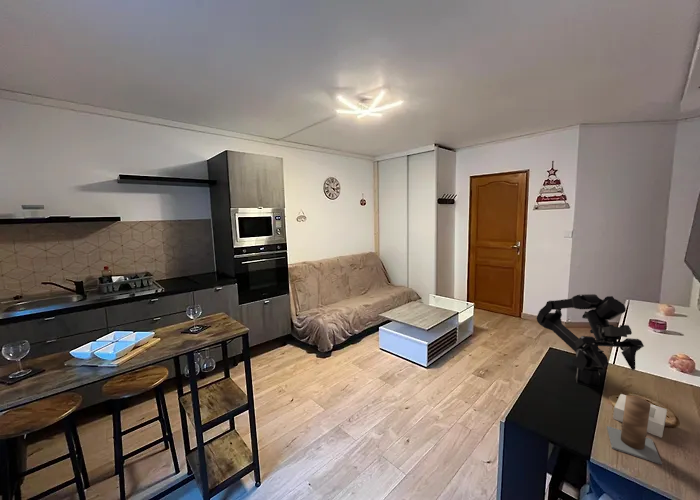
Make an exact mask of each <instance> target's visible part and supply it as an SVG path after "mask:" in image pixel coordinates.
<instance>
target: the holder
mask: <svg viewBox="0 0 700 500" xmlns="http://www.w3.org/2000/svg"><path fill="white" fill-rule="evenodd" d="M626 396H627V395H625V394H623V393H620V395H619V396H618V398H617V401H616V402H615V405H614V407H613V414H612V415H613V416H612V420H615V421H618V422H621V423H623V416H624V408H625V401H626ZM650 405H651V406H650V412H649V419H648V426H647V433H649V434H651V435H653V436H657V437H659V438H661V439H662V438H663V435H664V429H665V425H666V419H667V414H668V413H667V411H668V409H667V408H663V407H661V406H657V405H654V404H653V403H650Z"/></svg>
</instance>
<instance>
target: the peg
mask: <svg viewBox="0 0 700 500" xmlns="http://www.w3.org/2000/svg"><path fill="white" fill-rule="evenodd" d="M650 404H651V403H650V402H649V401H648V400H646V399H645V398H642V397H639V396H636V395H626V401H625V408H624V416H623V422H622V425H621V426H622V427H621V430H622V431H621V441H622V442H623V443H625V444H626V445H628V446H629V447H632V448H634V449H639V450H642V449H644V447H645V440H646V438H647V433H648V432H647V426H648V419H649V412H650V406H651V405H650Z"/></svg>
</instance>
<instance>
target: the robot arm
mask: <svg viewBox="0 0 700 500" xmlns="http://www.w3.org/2000/svg"><path fill="white" fill-rule="evenodd" d="M562 309H564V310H565V309H576V310H588V311H584V313H583V315H582V316H581V318H582V319H587V321H588V323H589V327H590V328H591V329H590V330H589V332H590V334H593V336H588V335H587V336H586V335H581V336H580V337H578V336H577V335H576V334H574V332H572V331H571V330H570V329H568V327H566V326H565V325H564V324H563V323H562V319H561V318H562V316H563V315H562V311H561V310H562ZM552 310H555V311H554V312H552ZM626 311H627V308H626V306H625V304H624V303H622V302H621V301H620V300H619V299H616V298H614V296H613V295H611V296H610V295H609V296H605V297H604V298H603V299H601V298H600V297H599V296H598V295H597V294H595V293H594V294H593V293H592V294H591V293H590V294H589V293H588V294H586V293H585V294H584V293H583V294H576V295H573V296H572V297H571V298H567V299H565V298H564V299H559V300H558V299H556V300H548V301H547V302H546V303H545V305H544V306H543V307H542V308H541V309H540V310H539V311H538V313H537V315H536V321H537V323H538V325H540V326H541V327H543V328H544V329H547V330H550V331H552V332H553V333H555V334H556V335H557V337H559V339H561V341H563V342H564V343H565V344H566V345H567V346H568V347H569V348H571V350H573V351H574V352H575V357H574V358H572V359H571V360H572V365H573V366H574V367H576V375H575V380H576V384H579V385H583V386H586V387H589V388H590V387H591V388H593V389H594V388H595V389H599V385H600V382H601V380H600V379H601V374H600V372H599V371H604V369H605V368H606V367H607V365H608V363H609V360H608V356H607V355H606V354H605V352H604V350H602V349H600V348H599V347H610V348H612V347H613V348H620V350H621V355H622V356H623V357H624V359H625V361H626V363H627V364H628V366H629V367H630V369H631V370H632V371H635V370H636V356H637V355H636V354H637V352H638V351H640V350H641V349H642V348H643V347H645V345H644V342H643V341H642V340H641V339H639V338H630V337H629V338H627V337H628V336H630V335H632V334H633V333H632V328H631V327H630V326H629V325H628V324H621V325H619V326H614V324H610V322H609V321H611V320H614V319H615V318H617V317H619V316H621V315H622V314H624V313H625V312H626ZM622 338H625V339H624V340H622V341H618V340H621V339H622Z"/></svg>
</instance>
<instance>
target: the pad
mask: <svg viewBox="0 0 700 500" xmlns="http://www.w3.org/2000/svg"><path fill="white" fill-rule="evenodd" d="M606 430H607V434H608V437H609V441H610V446H611V449H613V450H616V451H619V452H620V453H621V452H622V453H624V454H628V455H631V456H634V457H637V458H640V459H643V460H646V461H649V462H653V463H655V464H658V465H662V466H663V462H662V460H661V457H660V455H659V452H658V450H657V448H656V446H655V443H654V441H653V438H649V437H646V440H645V447H644V449H642V450H639V449H634V448H632V447H629V446H628V445H626V444H625V443H623V442H622V441H621V431H622V429H619V428H615V427H612V426H609V425H606Z"/></svg>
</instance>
